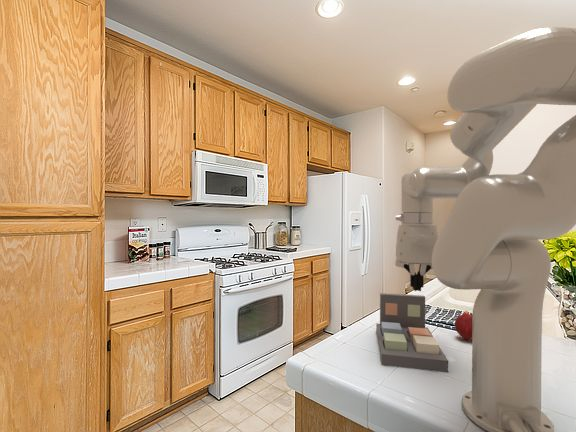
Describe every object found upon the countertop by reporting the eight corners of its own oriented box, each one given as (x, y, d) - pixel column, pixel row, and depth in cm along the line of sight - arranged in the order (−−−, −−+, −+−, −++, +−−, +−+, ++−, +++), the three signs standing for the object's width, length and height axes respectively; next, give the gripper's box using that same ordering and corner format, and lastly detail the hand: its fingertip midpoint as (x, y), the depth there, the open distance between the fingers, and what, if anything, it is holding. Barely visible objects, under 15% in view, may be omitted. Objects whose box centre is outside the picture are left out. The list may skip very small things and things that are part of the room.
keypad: (448, 372, 66) (448, 319, 66) (381, 364, 69) (381, 314, 69) (427, 336, 85) (427, 295, 85) (376, 331, 89) (376, 292, 89)
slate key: (401, 339, 79) (401, 329, 79) (382, 337, 80) (382, 328, 80) (399, 332, 83) (399, 323, 83) (381, 330, 84) (381, 321, 84)
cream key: (439, 356, 69) (439, 345, 69) (416, 353, 70) (416, 343, 70) (434, 347, 74) (434, 337, 74) (413, 345, 75) (413, 335, 75)
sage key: (406, 352, 71) (406, 342, 71) (385, 350, 72) (385, 340, 72) (403, 344, 75) (403, 334, 75) (383, 342, 77) (383, 332, 77)
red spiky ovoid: (483, 344, 80) (484, 314, 80) (462, 344, 80) (462, 314, 80) (471, 335, 86) (471, 307, 86) (450, 335, 86) (450, 307, 86)
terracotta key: (430, 345, 77) (430, 335, 77) (410, 343, 78) (410, 333, 78) (426, 337, 82) (426, 328, 82) (407, 336, 83) (407, 327, 83)
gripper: (387, 219, 77) (387, 291, 77) (452, 220, 73) (452, 295, 73) (385, 219, 84) (385, 285, 84) (444, 219, 81) (444, 288, 81)
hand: (416, 289), depth 79 cm, fingers closed
